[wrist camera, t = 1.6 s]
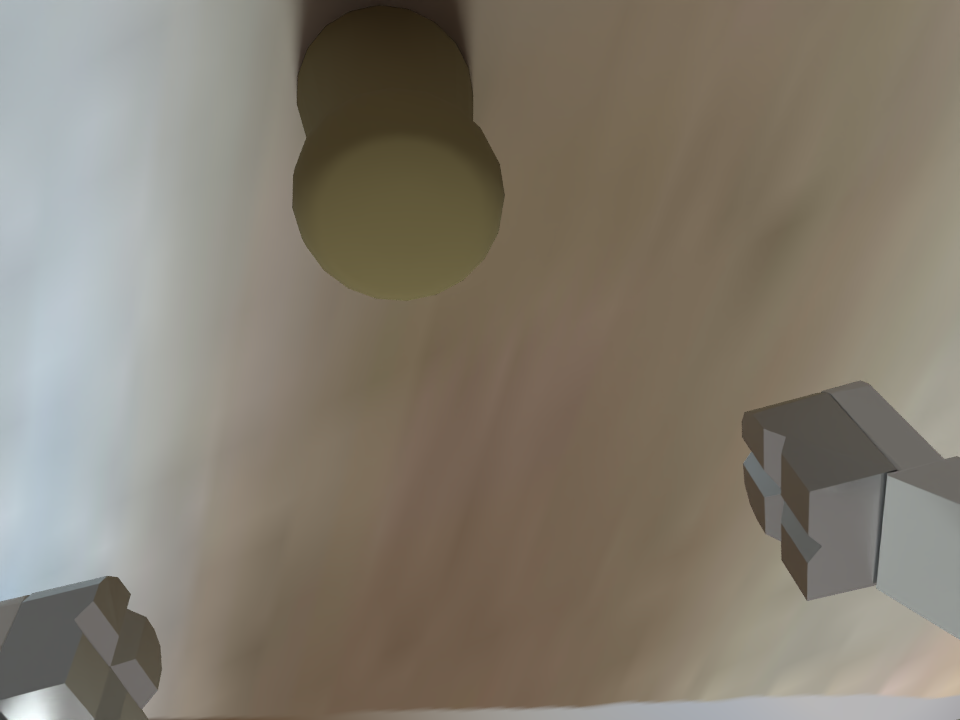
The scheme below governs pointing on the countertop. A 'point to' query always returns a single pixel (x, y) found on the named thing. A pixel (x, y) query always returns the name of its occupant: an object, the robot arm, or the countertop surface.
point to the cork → (393, 157)
